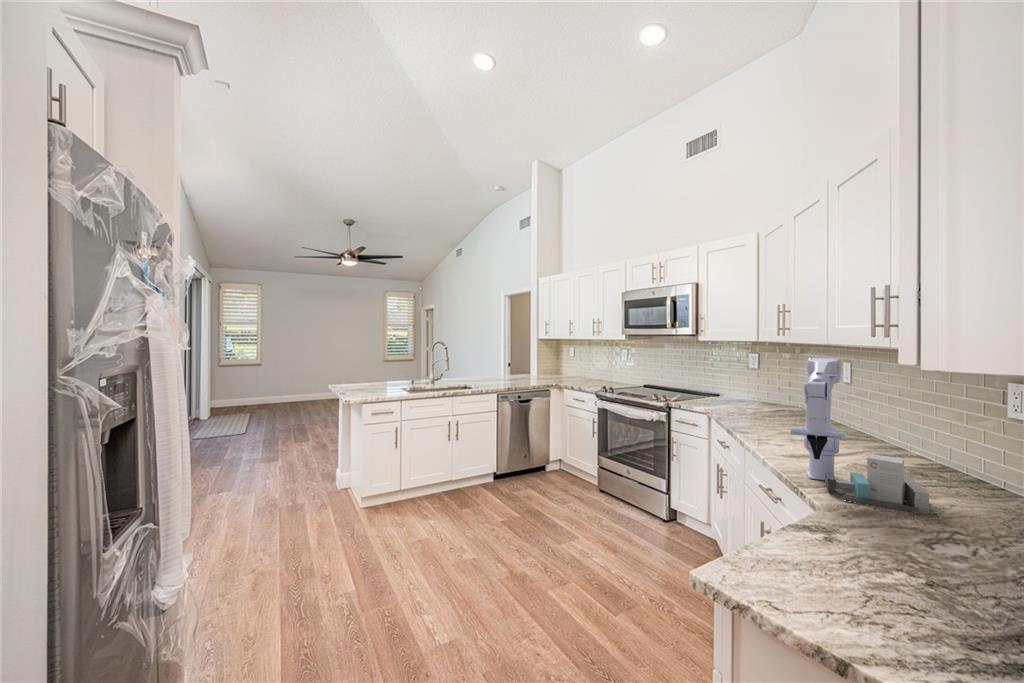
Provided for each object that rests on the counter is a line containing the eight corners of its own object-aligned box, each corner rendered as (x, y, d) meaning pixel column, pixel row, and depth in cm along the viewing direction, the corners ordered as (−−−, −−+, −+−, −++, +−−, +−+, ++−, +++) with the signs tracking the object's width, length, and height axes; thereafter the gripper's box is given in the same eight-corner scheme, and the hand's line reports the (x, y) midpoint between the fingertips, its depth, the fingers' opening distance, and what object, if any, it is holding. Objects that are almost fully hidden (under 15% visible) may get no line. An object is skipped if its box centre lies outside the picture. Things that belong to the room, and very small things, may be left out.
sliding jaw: (824, 485, 139) (824, 469, 139) (862, 490, 134) (862, 473, 134) (829, 496, 129) (829, 479, 129) (870, 502, 124) (870, 484, 124)
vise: (835, 485, 139) (835, 468, 139) (911, 496, 129) (911, 477, 129) (844, 501, 126) (844, 481, 126) (929, 514, 116) (929, 493, 116)
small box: (904, 500, 126) (904, 458, 125) (902, 506, 121) (902, 463, 121) (870, 493, 132) (870, 453, 132) (866, 498, 128) (866, 457, 127)
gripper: (791, 417, 135) (791, 458, 135) (847, 422, 128) (847, 465, 128) (789, 414, 141) (789, 453, 141) (842, 418, 134) (842, 459, 134)
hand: (816, 458), depth 135 cm, fingers closed
